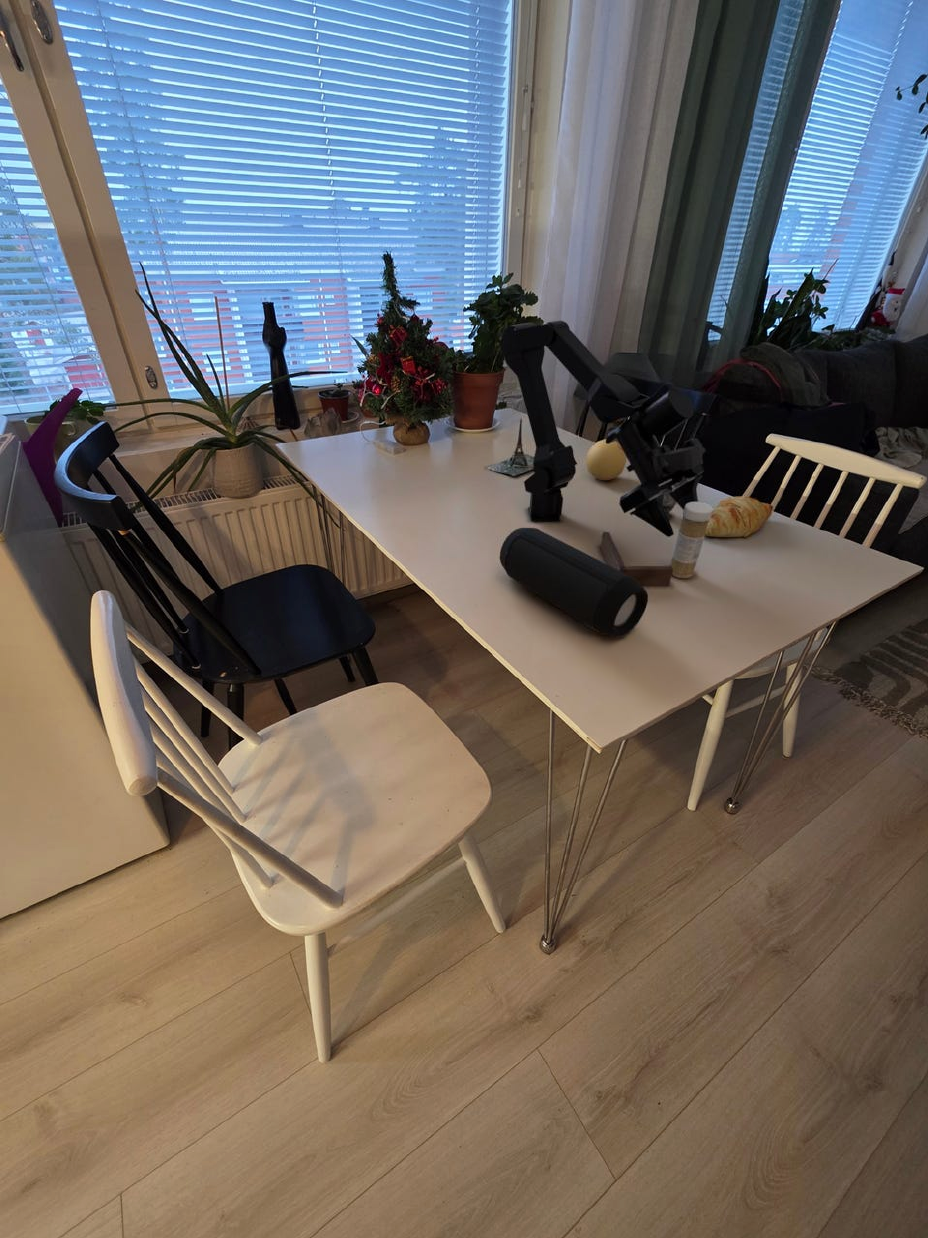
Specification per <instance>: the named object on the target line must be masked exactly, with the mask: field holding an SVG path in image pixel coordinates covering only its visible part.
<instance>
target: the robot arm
mask: <svg viewBox="0 0 928 1238" xmlns="http://www.w3.org/2000/svg"><path fill="white" fill-rule="evenodd" d="M498 344H499V348H500V351H501V354H502V356H503V359H504V362H505V363H506V365H507V367H509V369H510V370H511V371H512V372H513V373H514V374H515V375H516V378H517V381H518V383H519V384H518V385H519V388H520V391H521V396H522V398H523V399H522V400H523V403H524V407H525V410H526V413H527V414H526V415H527V418H528V421H529V426H530V429H531V433H532V437H533V441H534V444H535V452H534V456H533V457H534V461H533V466H534V469H533V474H531V475H530V476H529V477H527V478H526V479H525V480H524V481H523V484H524V491H525V492H527V493H528V494H530V498H529V507H528V508H527V510H528V516H529V520H530V522H560V521H561V515H562V513H563V512H562V511H563V504H564V496H563V493H562V489H564V488H567V487H568V485H569V483H570V482H571V481H572V480H573V479H574V477H575V475H576V472H577V469H576V466H577V465H578V462H577V461H576V458H575V455H574V454H575V453H574V448H573V445H571V444H570V445H567V446H566V445H565V444H564V443H563V442H562V441H561V439H560V436H559V432H558V429H557V424H556V421H555V416H554V412H553V408H552V405H551V401H550V396H549V393H548V389H547V385H546V381H545V377H544V373H543V368H542V367H543V362H544V357H545V347H546V348H548V350H549V351H550V352H551V353H552V354H553V355H554V357H556V359H557V360H558V362H560V363H561V364H562V366H563V367H564V368H565V369H566V370H567V371H568V372H569V374H570V375H571V376H572V377H573V378H574V379H575V380H576V381H577V383H578V384H579V385H580V386H581V387H582V388H583V390H584V391H585V394H586V396H587V402H588V406H589V407H590V408H591V410H592V411H593V413H594V415H595V416H596V418H597V420H599V421H600V422H601V423H603V424H613V423H616V422H619V421H622V420H624V421H623V422H622V423H621V424H620V425H614V426H612V427H609V428H608V432H607V433H608V434H607V436H606V438H605V439H606V443H607V444H609V443H612V442H615V441H616V442H618V443H619V444H620V446H621V448H622V450H623V452H624V453H625V455H626V460H627V461H628V463H629V465H628V466H625V468H626V470H627V472H628V473H630V472H633V471H634V473H635V475H636V477H637V479H638V481H639V483H640V484H639V485H637V486H636V487H634V488H632V489H631V490H629V491H627V492H626V493H624V494H623V495H621V496H620V498H619V502H618V505H619V507H620V509H621V510H622V512H623V514H626V513H628V512H629V515H630V516H635V517H636V518H638V519H640V520H642V521H644V522H645V523H647V524H648V525H650V526H651V527H653V528H654V529H656V530H657V531H659V532H660V533H662V534H663V535H665V536H666V537H667V538H670V537H672V536H674V534H675V532H674V529H673V527H672V524H671V522H670V519H669V520H668V517H667V515H666V513H665V511H664V508H663V506H662V504H663V499H664V494H662V495H660V496H658V495H657V494H659V493H660V491H662V490H664V489H666V488H667V489H668V490H672V489H673V491H672V492H670V493H669V495H670V496H671V497H672V498H673V499H674V500H675V501H676V502H677V503H676V504H677V505H678V506H679V507H680V508H681V509H682V510H683V511H684V507H685V505H686V504H687V503H689V502H699V501H698V491H697V488H698V485H699V482H700V480H701V479H703V475H702V473H703V472H705V469H704V468H703V464H704V461H703V455H704V454H705V453H706V447H704V446H703V443H701V442H700V440H699V439H698V438H697V437H696V438H691V439H688V440H686V441H684V442H683V445H682V447H681V448H680V447H679V448H678V449H673V450H671V448H670V447H669V445H666V444H663V445H661V444H660V442H659V441H658V439H657V437H658V438H659V437H660V438H662V437H665V436H667V435H668V434H669V433H671V432H672V431H674V430H675V429H677V428H678V427H679V426H681V425H682V424H683V423H685V422H687V421H688V420H689V419H691V418H692V417H693V416H694V413H695V408H694V403H693V401H692V399H691V397H690V396H689V395H687V394H686V393H685V392H684V391H683V390H682V389H680V388H678V387H676V385H675V384H674V382H673V381H670V382H667V383H664V384H663V385H662V386H661V387H659V389H658V390H657V391H656V392H655V393H653V394H652V395H651V396H648V395H646V394H643V393H640V392H639V390H638V389H637V388H636V387H635V386H634V385H633V384H632V383H630V382H629V381H627V380H626V379H625V378H623V377H621V376H620V375H617V374H614V373H612V372H611V371H609V370H608V369H607V368H606V367H604V365H603V364H602V363H601V362H600V361H599V360H598V359H597V358H596V356H594V355H593V353H592V351H590V350H589V349H588V348H587V347H586V345H584V343H583V342H582V341H581V340H580V339H579V338H578V337H577V336H576V334H574V332H573V331H572V330H571V329H570V325H569V324H568V323H567V322H566V321H564V320H554V321H553V320H552V321H546V322H544V324H539V325H538V324H536V323H535V322H526V323H517V324H510V325H507V326H506V327H504V328H503V330H502V332H501V335H500V338H499V343H498ZM635 415H639V416H638V417H636V418H630V417H633V416H635ZM625 419H626V420H625ZM700 474H701V475H700Z"/></svg>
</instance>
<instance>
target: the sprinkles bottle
mask: <svg viewBox="0 0 928 1238" xmlns="http://www.w3.org/2000/svg"><path fill="white" fill-rule="evenodd" d="M713 510H714V508H713V507H712V506H711V505H710V504H708V503H705V502H703V501H702V502H701V501H698V502H689V503H687V504H686V505H685V507H684V510H683V511H682V520H681V523H680V525H679V530H678V533H677V538H676V540H675V542H674V548H673V551H672V557H671V561H670V564H669V566H671V567H672V568H673V572H672V576H673V577H675V578H677V579H690V578H691V577H693V576H694V573H695V569H696V565H697V562H698V559H699V557H700V554H701V550H702V547H703V543H704V541H705V537H706V535H705V532H706V528H707V525H708V522H709V520H710V519H711V515H712V511H713Z"/></svg>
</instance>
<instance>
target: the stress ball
mask: <svg viewBox="0 0 928 1238" xmlns="http://www.w3.org/2000/svg"><path fill="white" fill-rule="evenodd" d="M606 439H607V438H603V439H602V440H599V441H596V442H595V443H593V444H592V446H591V447H590V448H589V450H588V452H587V454H586V459H585V464H586V468H587V470H588V472H589V474H590V475H591V476H592V477H594V478H595V479H597V480H600V481H609V480H613V479H615V478H617V477H619V476H620V475H621V474H622V473H623V471H624V468H626V463H627V457H626V455H625V453H624V452H623V450H622V448H621V446H620V444H619V442H618V441H615V442H612V443H609V444H607V443H606Z"/></svg>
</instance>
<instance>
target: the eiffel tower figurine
mask: <svg viewBox="0 0 928 1238" xmlns="http://www.w3.org/2000/svg"><path fill="white" fill-rule="evenodd" d="M522 423H523V420H522V418H520V419H519V429H518V438H517V442H516V446H515V449H514V451H513V454H512V455H511V457H510V458H509V459H506V460H504V461H503V460H502V461H501V462H498V463H495V464H493V465H491V466H489V467H486V470H490V471H493V472H497V473H501V474H502V473H503V474H507V475H510V476H513V477H515V476H518V475H520V474H524V473H526V472H529V471H531V470H534V466H533V461H534V456H533V455H530V454H527V453H525V452H524V450H523V444H522V443H523V442H522V440H523V439H522V429H523V428H522V426H523V425H522ZM519 449H520V451H519Z"/></svg>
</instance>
